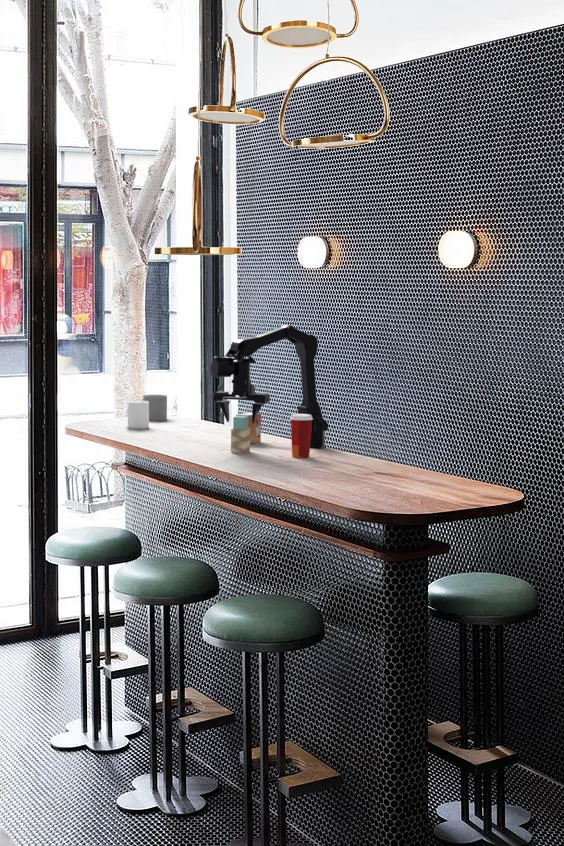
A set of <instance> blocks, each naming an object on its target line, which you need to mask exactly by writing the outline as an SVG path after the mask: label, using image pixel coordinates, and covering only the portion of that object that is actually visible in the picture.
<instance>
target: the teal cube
mask: <svg viewBox="0 0 564 846" xmlns="http://www.w3.org/2000/svg"><path fill="white" fill-rule="evenodd" d="M232 420H233V422H232V424H233V425H232V429H240V430H245V429H248V422H249V417H246V416H236V415H235V416H233V417H232Z"/></svg>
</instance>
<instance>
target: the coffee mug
mask: <svg viewBox="0 0 564 846" xmlns="http://www.w3.org/2000/svg"><path fill="white" fill-rule="evenodd" d="M140 401H148V402H149V422H161V421H163V422H164V421H167V420H168V396H167V395H165V394H144V395H143V396H142V399H141V400H140Z"/></svg>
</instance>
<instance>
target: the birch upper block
mask: <svg viewBox="0 0 564 846" xmlns="http://www.w3.org/2000/svg"><path fill="white" fill-rule="evenodd" d="M249 440H250V428H248V429H245V430H240V429H233V428H231V429H230V442H231V441H239V442H246V441H249Z"/></svg>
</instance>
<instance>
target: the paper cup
mask: <svg viewBox="0 0 564 846" xmlns="http://www.w3.org/2000/svg"><path fill="white" fill-rule="evenodd" d="M289 420H290V432H291V433H290V434H291V435H290V436H291V455H292V458H296V459H308V458H310V450H311V447H310V441H311V430H312V420H313V418H312V415H310V414H298V413H293V414H291V415H290V418H289Z"/></svg>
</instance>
